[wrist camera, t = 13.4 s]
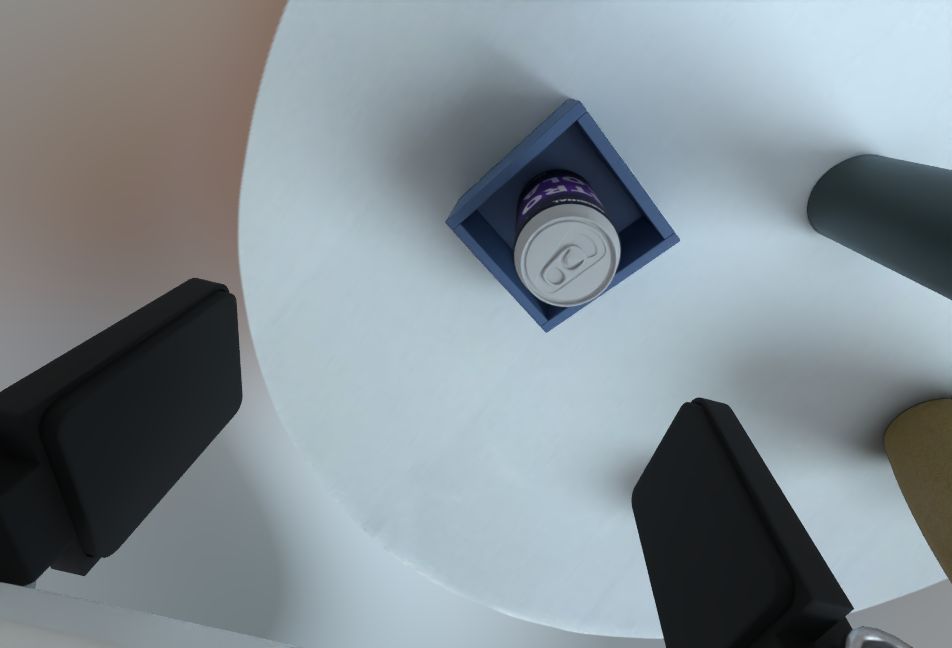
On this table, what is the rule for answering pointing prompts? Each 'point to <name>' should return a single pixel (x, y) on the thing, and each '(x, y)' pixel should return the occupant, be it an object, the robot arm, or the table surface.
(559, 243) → the beverage can
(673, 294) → the table surface
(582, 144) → the blue open box
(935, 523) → the plant pot
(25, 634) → the robot arm
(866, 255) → the wine bottle
